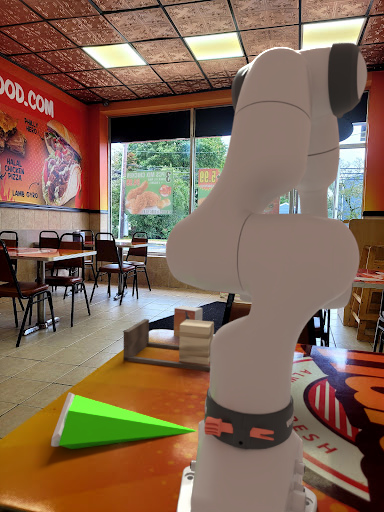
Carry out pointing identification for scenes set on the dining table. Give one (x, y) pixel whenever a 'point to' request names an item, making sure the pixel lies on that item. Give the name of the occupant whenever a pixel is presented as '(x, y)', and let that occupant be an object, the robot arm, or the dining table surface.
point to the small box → (185, 316)
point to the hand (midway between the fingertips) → (227, 285)
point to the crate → (195, 341)
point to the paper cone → (105, 425)
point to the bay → (139, 339)
